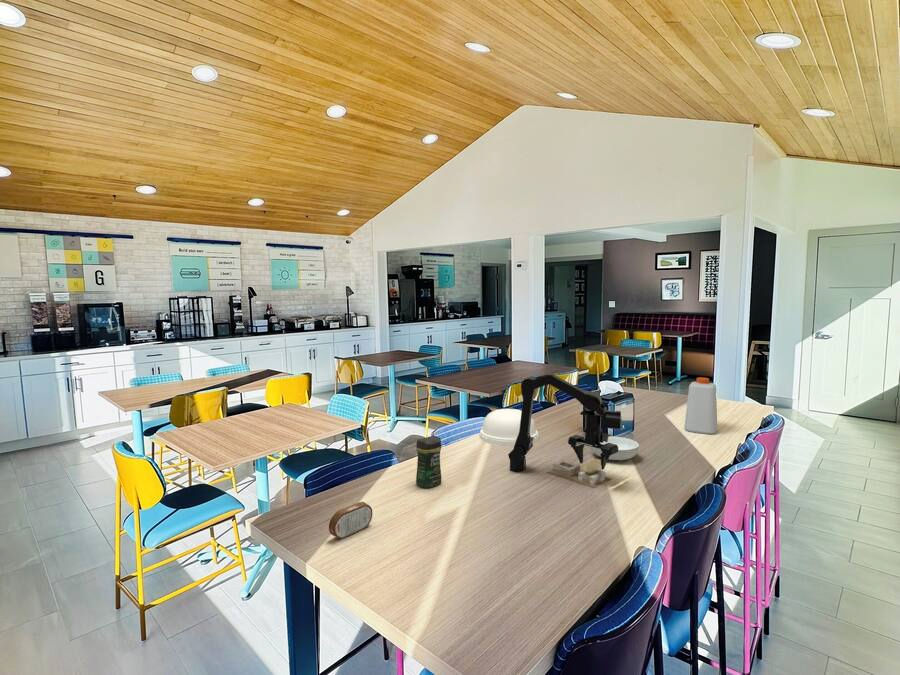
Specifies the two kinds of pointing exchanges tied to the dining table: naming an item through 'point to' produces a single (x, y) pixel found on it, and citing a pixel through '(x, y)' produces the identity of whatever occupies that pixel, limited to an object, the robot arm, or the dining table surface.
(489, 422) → the dome cover
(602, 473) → the board
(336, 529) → the tin
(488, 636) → the dining table surface
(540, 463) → the dining table surface
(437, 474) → the coffee jar
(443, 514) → the dining table surface
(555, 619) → the dining table surface
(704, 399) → the plastic bottle
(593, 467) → the gold rectangular bar
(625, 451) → the serving bowl
